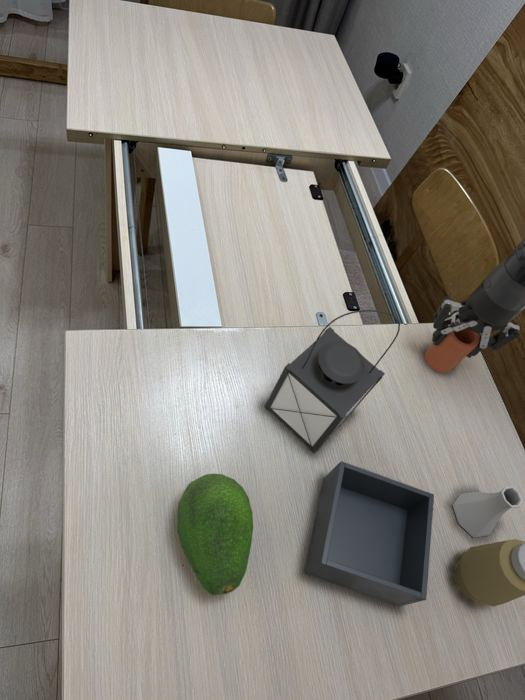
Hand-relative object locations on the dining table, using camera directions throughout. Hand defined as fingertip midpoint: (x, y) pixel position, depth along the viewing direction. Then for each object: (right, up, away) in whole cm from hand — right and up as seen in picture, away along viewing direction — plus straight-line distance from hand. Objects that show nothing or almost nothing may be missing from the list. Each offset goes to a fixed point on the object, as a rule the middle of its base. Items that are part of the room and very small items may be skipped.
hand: (451, 347), depth 93 cm
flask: (-1, -27, -12) cm, 30 cm away
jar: (-1, -2, +4) cm, 5 cm away
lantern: (-27, -11, -8) cm, 30 cm away
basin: (-20, -29, -18) cm, 40 cm away
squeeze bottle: (-4, -35, -18) cm, 39 cm away
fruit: (-42, -27, -23) cm, 55 cm away
